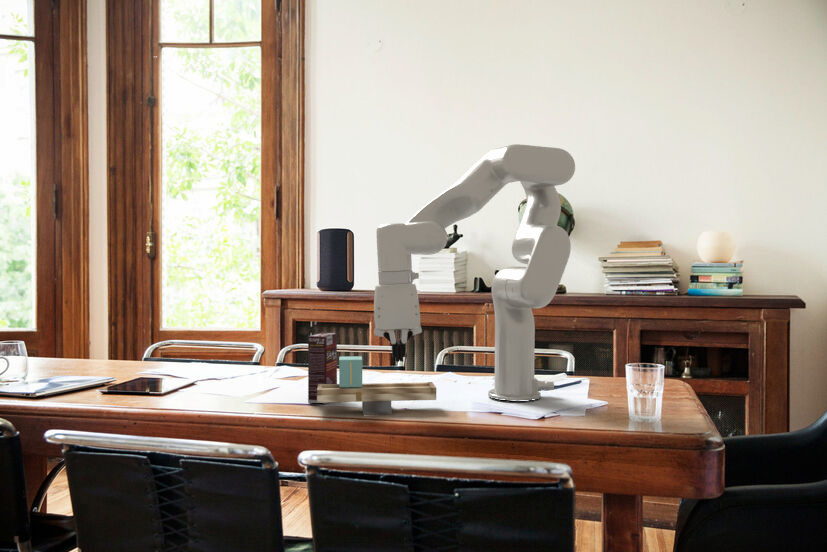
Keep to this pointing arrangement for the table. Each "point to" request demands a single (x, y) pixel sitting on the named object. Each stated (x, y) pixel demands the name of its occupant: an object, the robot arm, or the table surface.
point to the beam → (377, 395)
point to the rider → (350, 372)
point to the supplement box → (321, 362)
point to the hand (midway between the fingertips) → (399, 360)
